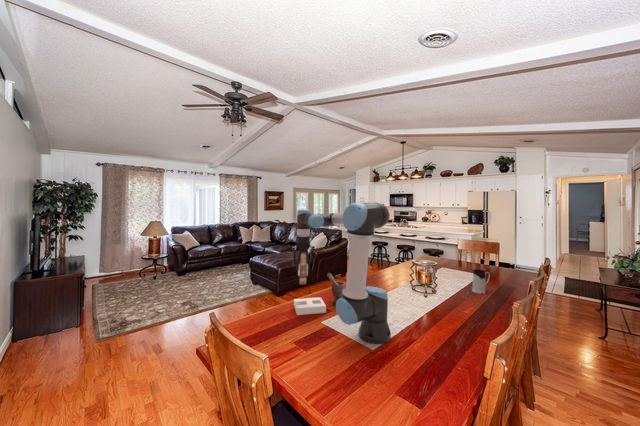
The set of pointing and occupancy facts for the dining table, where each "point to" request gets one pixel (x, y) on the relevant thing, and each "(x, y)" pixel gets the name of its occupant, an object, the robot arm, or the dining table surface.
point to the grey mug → (479, 281)
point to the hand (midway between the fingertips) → (302, 274)
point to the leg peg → (303, 268)
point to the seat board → (309, 306)
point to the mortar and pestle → (336, 288)
